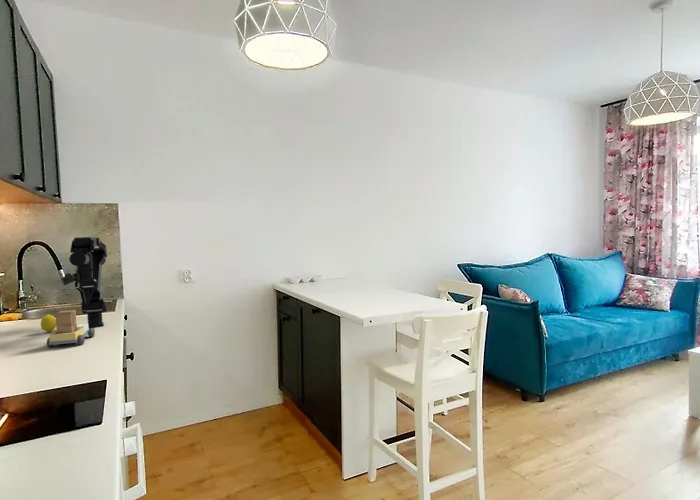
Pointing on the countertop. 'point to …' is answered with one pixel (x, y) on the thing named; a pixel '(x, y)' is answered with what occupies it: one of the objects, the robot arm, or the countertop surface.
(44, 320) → the lemon
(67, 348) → the countertop surface
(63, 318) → the walnut block
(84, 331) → the toy chassis
